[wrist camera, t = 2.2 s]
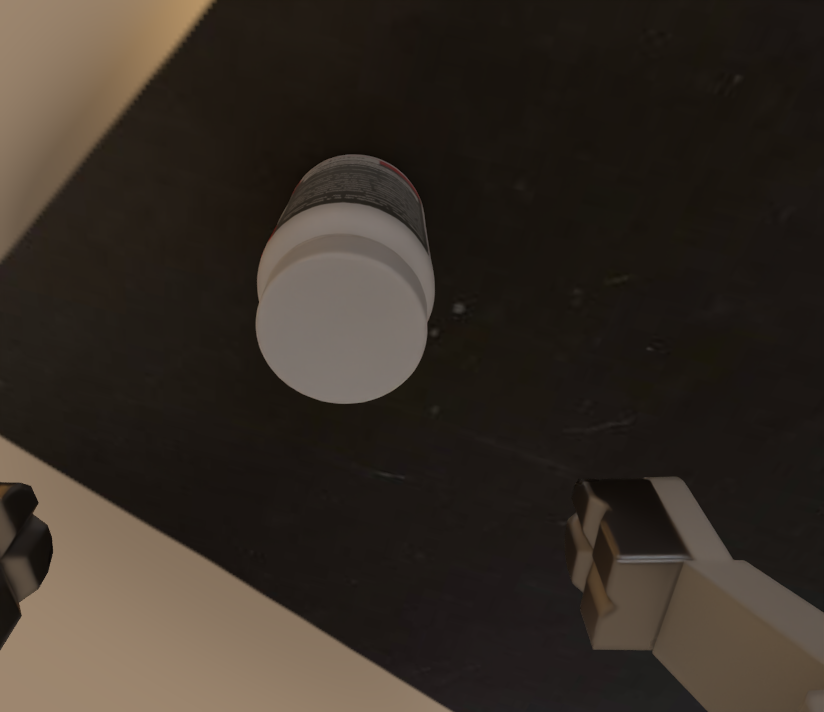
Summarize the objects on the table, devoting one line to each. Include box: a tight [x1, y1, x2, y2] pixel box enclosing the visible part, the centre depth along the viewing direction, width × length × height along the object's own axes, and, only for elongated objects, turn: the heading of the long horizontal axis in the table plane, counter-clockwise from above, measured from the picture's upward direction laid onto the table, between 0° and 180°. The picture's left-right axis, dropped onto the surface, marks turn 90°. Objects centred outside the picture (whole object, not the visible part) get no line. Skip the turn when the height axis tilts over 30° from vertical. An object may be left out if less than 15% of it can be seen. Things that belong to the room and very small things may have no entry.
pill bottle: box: [256, 155, 435, 404], centre depth 17 cm, size 5×5×8 cm
